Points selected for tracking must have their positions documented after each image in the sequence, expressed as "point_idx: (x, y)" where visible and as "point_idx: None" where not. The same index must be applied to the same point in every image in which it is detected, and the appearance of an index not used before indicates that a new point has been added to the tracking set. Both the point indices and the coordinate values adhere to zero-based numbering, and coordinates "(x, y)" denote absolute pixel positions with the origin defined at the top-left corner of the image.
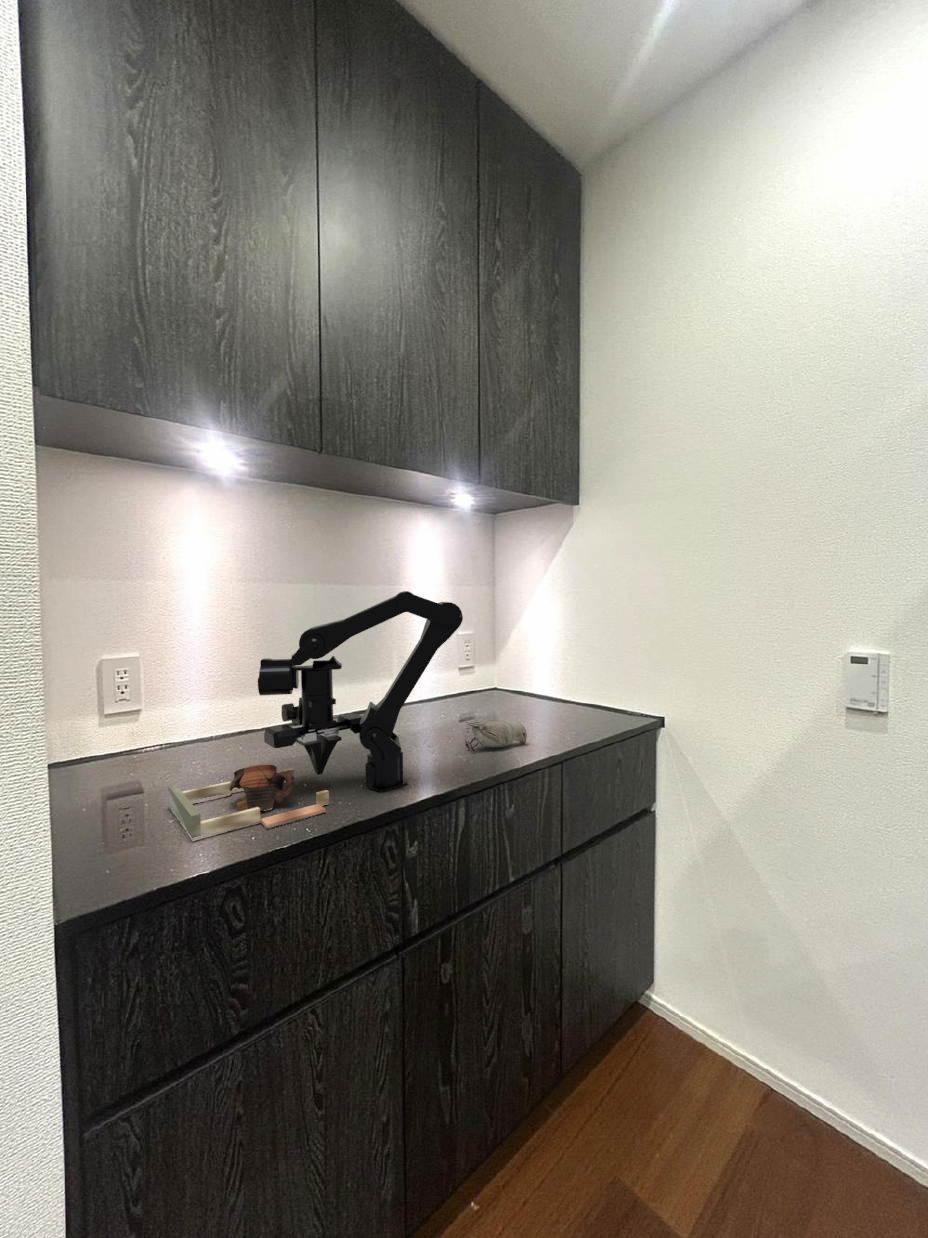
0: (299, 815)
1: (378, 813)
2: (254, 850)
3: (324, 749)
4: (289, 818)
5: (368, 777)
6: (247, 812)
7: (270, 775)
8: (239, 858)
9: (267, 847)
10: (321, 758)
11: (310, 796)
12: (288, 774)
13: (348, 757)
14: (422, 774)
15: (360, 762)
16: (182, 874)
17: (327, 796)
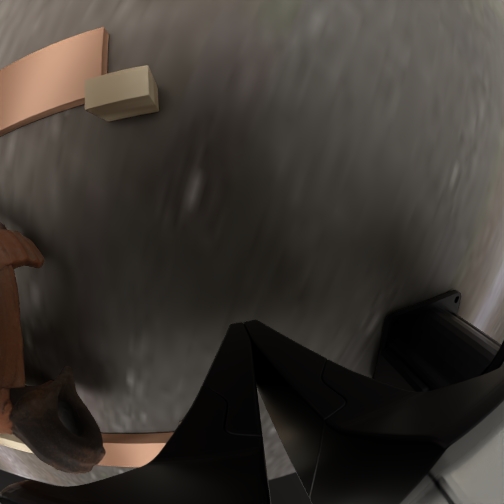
0: (128, 465)
1: (295, 470)
2: (66, 480)
3: (310, 490)
4: (106, 465)
5: (389, 384)
6: (17, 448)
7: (5, 430)
8: (53, 482)
9: (83, 484)
10: (278, 421)
11: (177, 345)
12: (75, 473)
13: (435, 14)
14: (487, 302)
15: (456, 85)
16: (5, 466)
17: None
